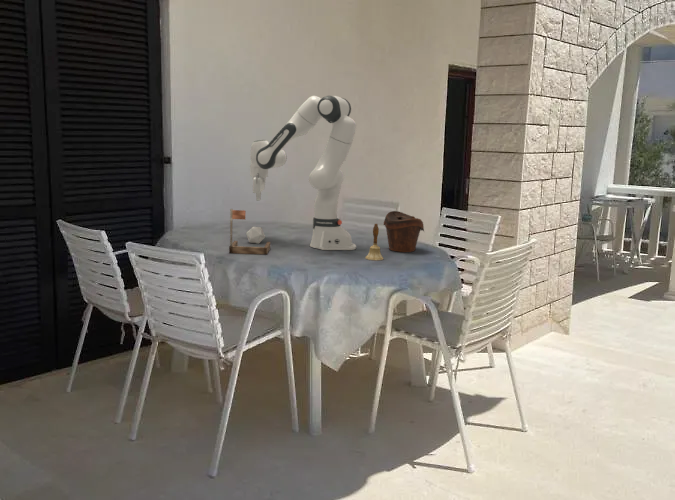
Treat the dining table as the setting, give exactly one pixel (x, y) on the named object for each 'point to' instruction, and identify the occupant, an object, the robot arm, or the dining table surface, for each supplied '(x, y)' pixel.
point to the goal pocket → (234, 246)
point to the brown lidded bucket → (402, 231)
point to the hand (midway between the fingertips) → (258, 200)
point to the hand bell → (375, 247)
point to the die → (255, 235)
